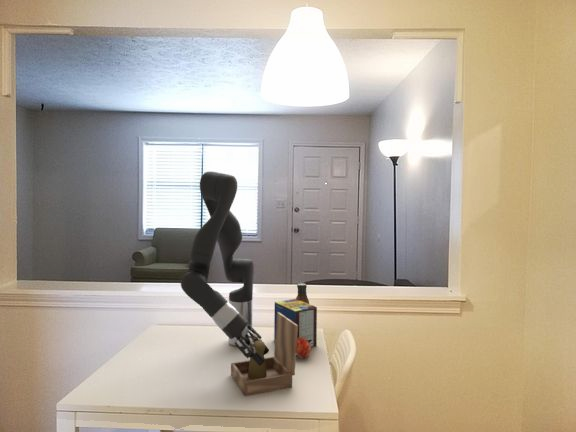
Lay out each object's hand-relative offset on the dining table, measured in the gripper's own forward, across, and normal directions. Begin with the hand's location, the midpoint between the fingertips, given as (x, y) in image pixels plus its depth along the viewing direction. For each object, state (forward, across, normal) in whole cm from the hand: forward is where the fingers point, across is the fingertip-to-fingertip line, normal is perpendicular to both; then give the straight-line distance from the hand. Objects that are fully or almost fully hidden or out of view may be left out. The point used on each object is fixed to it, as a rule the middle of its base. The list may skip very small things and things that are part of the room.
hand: (265, 357), depth 129 cm
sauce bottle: (+11, +52, 0) cm, 54 cm away
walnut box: (+4, 0, +6) cm, 8 cm away
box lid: (+1, +4, -7) cm, 8 cm away
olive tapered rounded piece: (+3, +2, +7) cm, 7 cm away
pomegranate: (+12, +21, -1) cm, 24 cm away
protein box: (+10, +35, +1) cm, 37 cm away
